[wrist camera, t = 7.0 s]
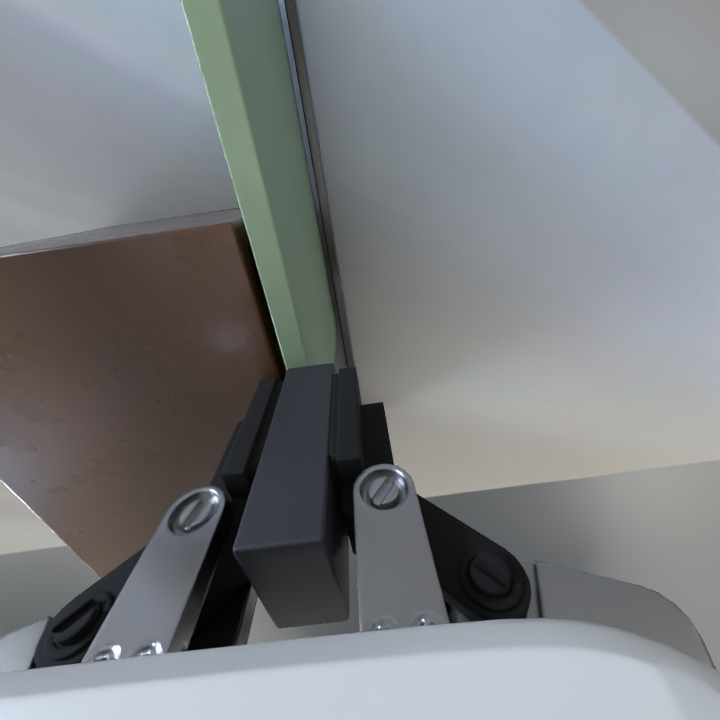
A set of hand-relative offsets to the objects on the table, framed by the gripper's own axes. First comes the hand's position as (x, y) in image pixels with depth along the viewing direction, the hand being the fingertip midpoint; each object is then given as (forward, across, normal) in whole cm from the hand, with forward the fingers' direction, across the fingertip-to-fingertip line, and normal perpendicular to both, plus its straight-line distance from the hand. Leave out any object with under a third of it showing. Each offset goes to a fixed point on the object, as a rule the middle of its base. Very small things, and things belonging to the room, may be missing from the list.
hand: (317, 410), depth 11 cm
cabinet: (+14, +6, -2) cm, 15 cm away
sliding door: (+13, 0, -6) cm, 14 cm away
